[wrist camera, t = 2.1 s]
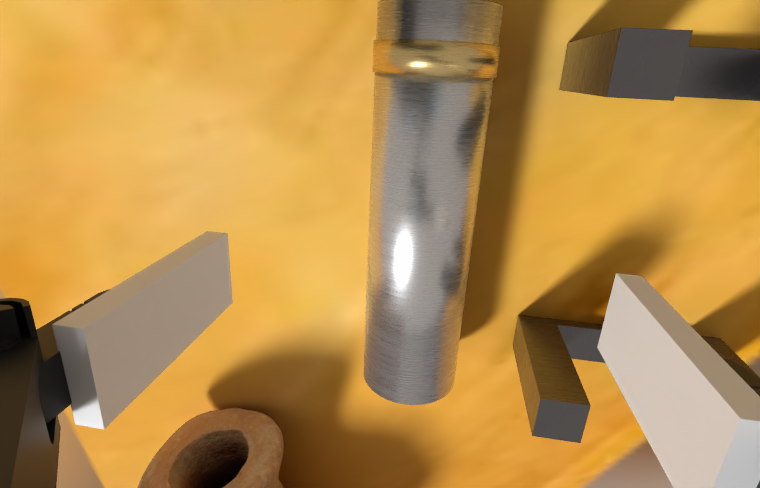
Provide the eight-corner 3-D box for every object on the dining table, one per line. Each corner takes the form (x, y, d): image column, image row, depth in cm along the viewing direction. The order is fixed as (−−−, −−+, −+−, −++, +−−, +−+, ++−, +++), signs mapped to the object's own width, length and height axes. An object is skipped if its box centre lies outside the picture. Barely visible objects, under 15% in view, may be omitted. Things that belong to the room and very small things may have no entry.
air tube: (384, 11, 21) (364, -7, 16) (499, 15, 20) (513, -2, 15) (370, 340, 27) (352, 398, 23) (456, 351, 27) (456, 413, 22)
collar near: (567, 42, 20) (631, 25, 13) (828, 53, 19) (1063, 40, 11) (559, 89, 21) (615, 98, 14) (809, 103, 19) (1019, 120, 12)
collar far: (518, 315, 25) (540, 398, 19) (720, 338, 24) (819, 437, 17) (512, 345, 26) (532, 435, 19) (708, 369, 24) (800, 475, 18)
